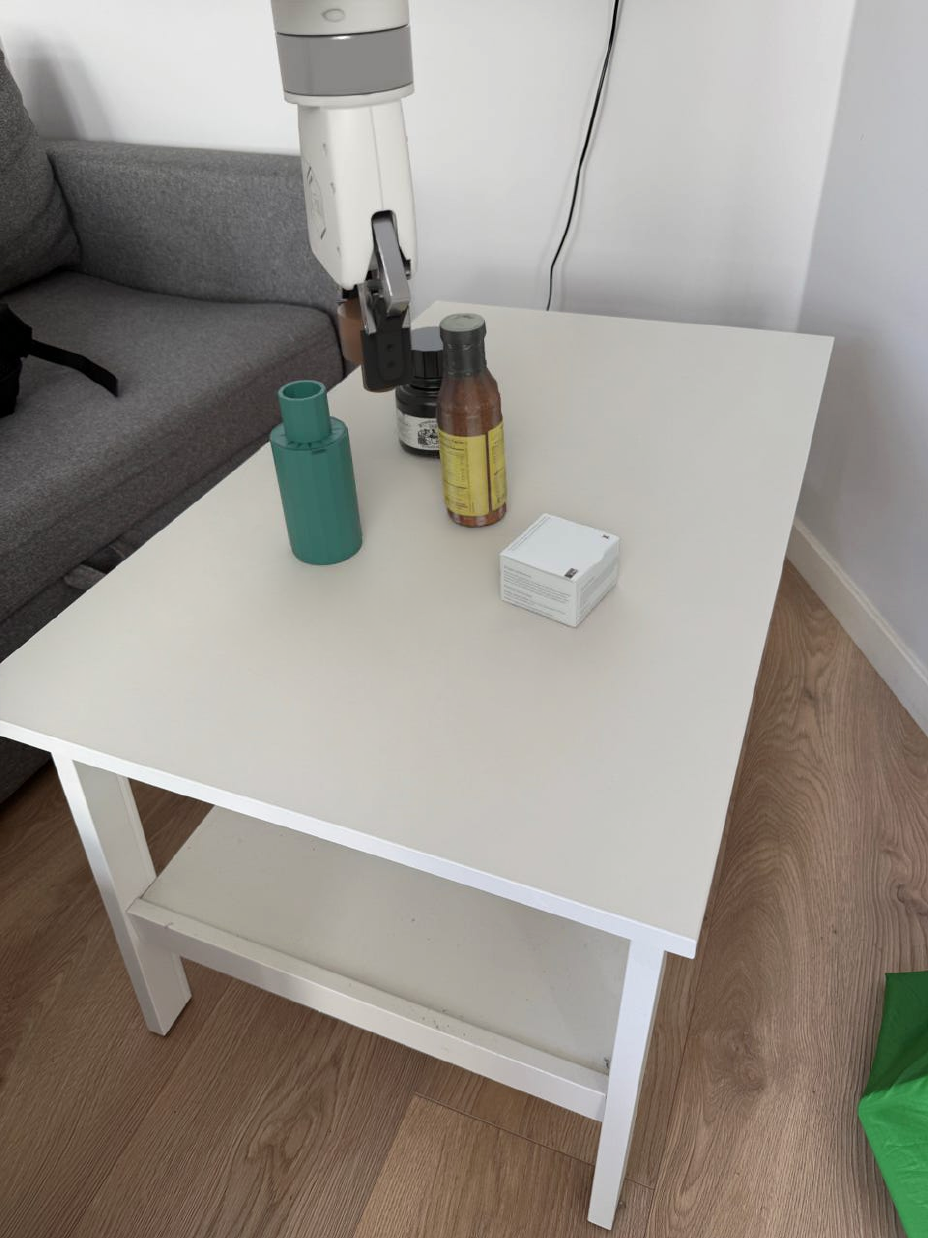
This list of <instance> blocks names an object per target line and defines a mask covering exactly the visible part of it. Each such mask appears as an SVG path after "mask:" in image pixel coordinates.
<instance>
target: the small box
mask: <svg viewBox="0 0 928 1238" xmlns="http://www.w3.org/2000/svg"><path fill="white" fill-rule="evenodd" d="M621 539H622V538H621V537H620V536H618V535H616V534H613V533H610V532H608V531H604V530H601V529H598V528H595V527H591V526H588V525H584V524H582V523H578V522H575V521H572V520H569V519H565V518H562V517H559V516H557V515H553V514H550V513H547V512H544V513H542V514H541V515H540V516H539V517H538V518H537V519H536V520H535V521H534V522H532V523H531V524H530V526H528V527H527V528H526V529H525V530H524V531H523V532H521V533H520V535H518V536H517V537H516V539H514V540H513V541H512V542H510V543H509V545H508V546H506V547H505V548H504V549H503V550H502V551H501V552H500V553H499V554H498V555H499V596H500V597H499V598H500V600H501V601H503V602H506V603H508V604H511V605H513V606H516V607H518V608H521V609H524V610H527V611H529V612H532V613H535V614H537V615H539V616H543V617H545V618H548V619H550V620H553V621H556V622H558V623H561V624H563V625H566V626H567V627H568V626H569V627H572V628H577V627H578V626H579V624H580V623H582V622H583V620H584V619H586V617H587V616H588V615H589V614H590V613H591V612H592V610H593V609H595V607H596V606H597V605H598V604H599V603H600V602H601V601H602V600H603V598H604V597H605V596H606V595H607V594H608V593H609V592H610V591H611V589H613V587H614V586H615V585H616V584H617V583H618V577H619V566H620V565H619V564H620V554H621V553H620V552H621Z"/></svg>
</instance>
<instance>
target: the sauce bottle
mask: <svg viewBox="0 0 928 1238" xmlns="http://www.w3.org/2000/svg"><path fill="white" fill-rule="evenodd" d="M486 324H487V323H486V319H485V318H484V317H483V316H482V315H479V314H478V313H477V314H476V313H471V312H464V313H459V312H458V313H452V314H449V315H446V316H445V317H443V318H442V319H441V320H440V322H439V324H438V326H439V328H440V338H441V341H442V342H443V352H444V374H443V379H442V384H441V387H440V390H439V392H438V396H437V405H436V423H437V432H438V441H439V451H440V457H439V461H440V469H441V470H440V471H441V481H442V491H443V492H442V493H443V500H444V505H445V507H446V510H447V515H448V517H449V518H450V519H451V520H452V521H453V522H455V523H456V524H459V525H461V526H464V527H467V528H468V527H469V528H477V527H485V526H490V525H493V524H494V523H497V522H499V521H500V520H501V519H502V518H503V517H504V516H505V514H506V512H507V498H508V489H507V488H508V487H507V471H506V470H507V469H506V454H505V453H506V452H505V451H506V450H505V436H504V435H505V434H504V417H503V416H504V415H503V413H502V398H501V393H500V391H499V386H498V381H497V380H496V379H495V377H494V376H493V375H492V374H493V373H491V371H490V369H489V368H488V366H487V365H488V362H487V359H486V344H485V338H486V335H487V325H486Z"/></svg>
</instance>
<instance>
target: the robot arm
mask: <svg viewBox="0 0 928 1238" xmlns="http://www.w3.org/2000/svg"><path fill="white" fill-rule="evenodd" d="M269 2H270V7H271V15H272V21H273V28H274V36H275V44H276V50H277V58H278V64H279V72H280V78H281V84H282V92H283V99H284V101H285V102H286V103H288V104H291V105H297V107H296V108H297V128H298V143H299V154H300V164H301V174H302V183H303V193H304V201H305V204H304V205H305V213H306V223H307V230H308V231H307V233H308V240H309V245H310V249H311V252H312V253H313V255H314V257H315V258H316V259H317V261H318V262H319V263H320V264H321V266H322V268H323V269H325V271H326V272H327V273H328V275H329V276H330V277H331V278H332V279H333V281H335V283H336V291H337V292H336V293H337V296H338V299H339V302H337V304H338V305H337V306H338V307H339V306H340V305H341V304H343V303H344V302H346V301H349V300H351V299H355V298H358V297H359V298H360V304H361V310H362V316H363V322H364V327H365V330H360V338H361V347H362V355H363V364H364V372H365V381H366V385H367V387H368V388H369V390H371V391H376V390H381V389H386V388H391V387H396V386H401V385H406V384H410V383H412V381H413V379H414V374H413V362H412V349H411V337H410V321H411V318H410V319H409V312H408V308H409V309H410V302H411V290H410V286H409V282H408V281H410V280H411V279H412V278H413V277H414V276H415V275H416V273H417V272H418V266H419V265H418V264H419V263H418V260H419V259H418V232H417V219H416V217H417V216H416V207H415V197H414V196H415V195H414V187H413V186H414V185H413V178H412V169H411V161H410V154H409V153H410V152H409V145H408V141H409V138H408V135H407V129H406V121H405V115H404V114H405V113H404V109H403V101H402V99H403V98H407V97H409V96H411V95H413V94H414V93H415V80H414V79H415V76H414V62H413V61H414V60H413V48H412V47H413V44H412V30H411V29H412V28H411V24H410V20H411V19H410V6H409V0H269ZM380 290H382V291H381V295H382V297H381V298H377V299H376V302H375V304H374V309H373V303H372V297H371V295H380ZM408 304H409V305H408Z"/></svg>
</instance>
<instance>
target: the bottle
mask: <svg viewBox="0 0 928 1238" xmlns="http://www.w3.org/2000/svg"><path fill="white" fill-rule="evenodd" d="M327 393H328V392H327V388H326V386H325V385H324V383H323V382H320V381H317V380H314V379H313V380H312V379H311V380H309V379H301V380H296V381H290V382H288V383H286V384H284V385H283V386H282V385H281V387H280V388H279V390H278V391H277V397H278V402H279V403H278V404H279V408H280V413H281V419H282V421H281V422H280V423H279V424H278V425H277V426H275V427H274V428H272V429H271V432H270V434H269V436H268V437H269V438H268V439H269V444H270V447H271V454H272V459H273V463H274V469H275V474H276V479H277V484H278V485H277V486H278V490H279V494H280V499H281V504H282V510H283V515H284V520H285V525H286V531H287V536H288V541H289V545H290V548H291V552H292V555H293V556H294V557H295V558H296V559H297V560H299V561H300V562H303V563H305V564H309V565H315V566H328V565H333V564H338V563H341V562H344V561H346V560H348V559H350V558H352V557H353V556H355V554H357V553H358V552H359V550H360V549H361V547H362V544H363V531H362V523H361V518H360V509H359V503H358V502H359V501H358V494H357V486H356V478H355V472H354V464H353V457H352V449H351V441H350V435H349V428H348V426H347V424H346V423H345V421H343V420H342V419H339V418H337V417H336V416H332V415H331V414H330V407H329V400H328V394H327Z"/></svg>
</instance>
